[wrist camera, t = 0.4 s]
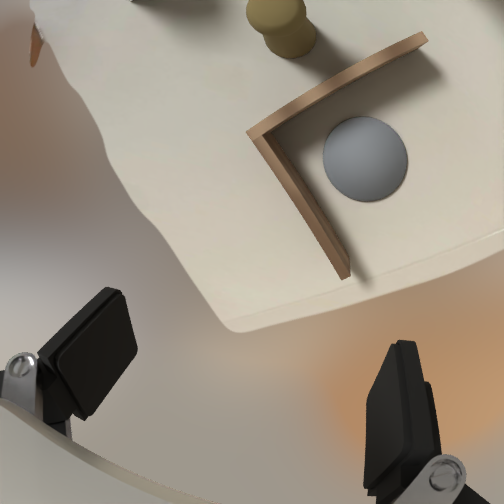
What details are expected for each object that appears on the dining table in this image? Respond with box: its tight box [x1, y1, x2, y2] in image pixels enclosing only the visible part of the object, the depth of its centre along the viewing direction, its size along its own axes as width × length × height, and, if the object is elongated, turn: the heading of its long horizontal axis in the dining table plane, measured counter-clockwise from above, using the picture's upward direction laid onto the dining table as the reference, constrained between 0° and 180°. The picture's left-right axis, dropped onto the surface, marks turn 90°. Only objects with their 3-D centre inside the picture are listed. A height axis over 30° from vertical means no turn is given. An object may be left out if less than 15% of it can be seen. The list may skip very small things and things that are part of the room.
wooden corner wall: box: [246, 31, 428, 280], centre depth 30 cm, size 22×20×5 cm
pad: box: [323, 117, 407, 201], centre depth 32 cm, size 10×10×1 cm
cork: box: [246, 0, 316, 58], centre depth 23 cm, size 6×6×11 cm
